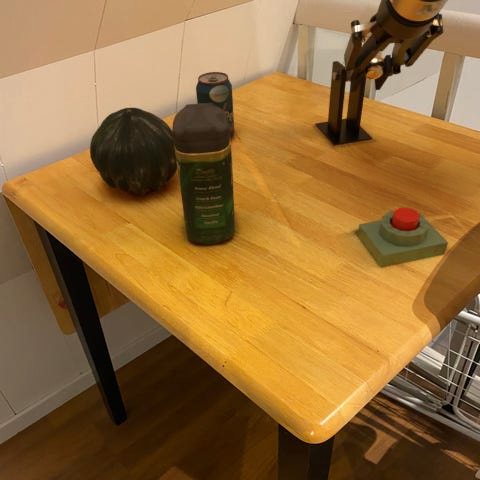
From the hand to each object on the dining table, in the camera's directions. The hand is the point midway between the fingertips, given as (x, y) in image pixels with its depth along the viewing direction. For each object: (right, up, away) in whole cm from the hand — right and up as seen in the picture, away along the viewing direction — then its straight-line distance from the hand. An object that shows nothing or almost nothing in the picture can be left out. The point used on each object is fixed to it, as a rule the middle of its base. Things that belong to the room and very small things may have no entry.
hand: (364, 83), depth 86 cm
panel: (+2, -31, -13) cm, 34 cm away
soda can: (-27, -5, +14) cm, 31 cm away
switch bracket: (-1, -5, +12) cm, 13 cm away
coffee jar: (-27, -27, -8) cm, 39 cm away
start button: (+2, -28, -16) cm, 32 cm away
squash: (-40, -17, +3) cm, 43 cm away
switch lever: (-1, 0, 0) cm, 1 cm away
